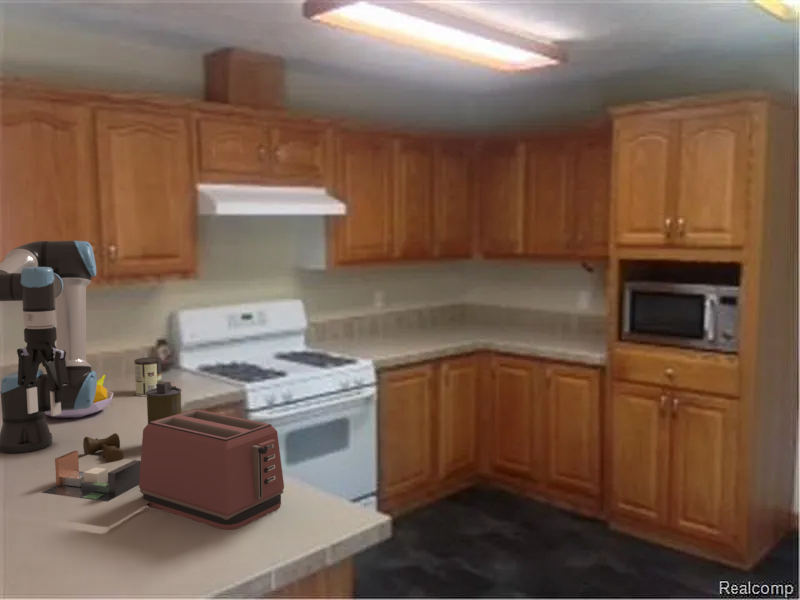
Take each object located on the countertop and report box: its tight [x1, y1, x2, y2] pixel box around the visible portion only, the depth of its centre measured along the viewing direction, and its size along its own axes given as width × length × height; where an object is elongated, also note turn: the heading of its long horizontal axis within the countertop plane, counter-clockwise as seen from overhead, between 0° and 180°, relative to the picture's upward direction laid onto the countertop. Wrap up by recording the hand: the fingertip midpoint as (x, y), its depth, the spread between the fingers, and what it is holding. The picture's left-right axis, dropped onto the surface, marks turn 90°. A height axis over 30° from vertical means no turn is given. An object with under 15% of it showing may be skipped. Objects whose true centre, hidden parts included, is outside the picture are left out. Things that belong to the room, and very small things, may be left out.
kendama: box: [82, 433, 125, 463], centre depth 209 cm, size 6×10×20 cm
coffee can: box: [134, 356, 163, 397], centre depth 287 cm, size 10×10×14 cm
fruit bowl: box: [45, 374, 114, 419], centre depth 258 cm, size 28×27×11 cm
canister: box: [146, 381, 183, 425], centre depth 219 cm, size 11×10×20 cm
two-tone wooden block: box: [54, 450, 85, 487], centre depth 184 cm, size 6×7×7 cm
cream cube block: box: [83, 466, 109, 484], centre depth 182 cm, size 4×4×4 cm
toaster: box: [138, 408, 285, 531], centre depth 172 cm, size 19×34×20 cm, turn 58°
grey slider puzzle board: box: [41, 459, 141, 503], centre depth 182 cm, size 20×16×7 cm
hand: (44, 413), depth 185 cm, fingers open, 7 cm apart
